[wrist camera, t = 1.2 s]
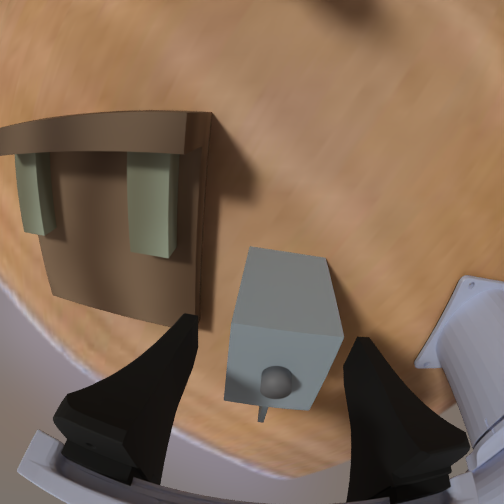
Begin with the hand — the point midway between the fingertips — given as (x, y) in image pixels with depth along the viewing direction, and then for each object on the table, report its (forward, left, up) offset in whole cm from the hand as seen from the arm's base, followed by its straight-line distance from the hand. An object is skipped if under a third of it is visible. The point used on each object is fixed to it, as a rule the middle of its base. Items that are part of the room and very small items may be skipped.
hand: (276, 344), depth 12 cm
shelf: (+10, -3, -4) cm, 11 cm away
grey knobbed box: (0, +1, -4) cm, 4 cm away
